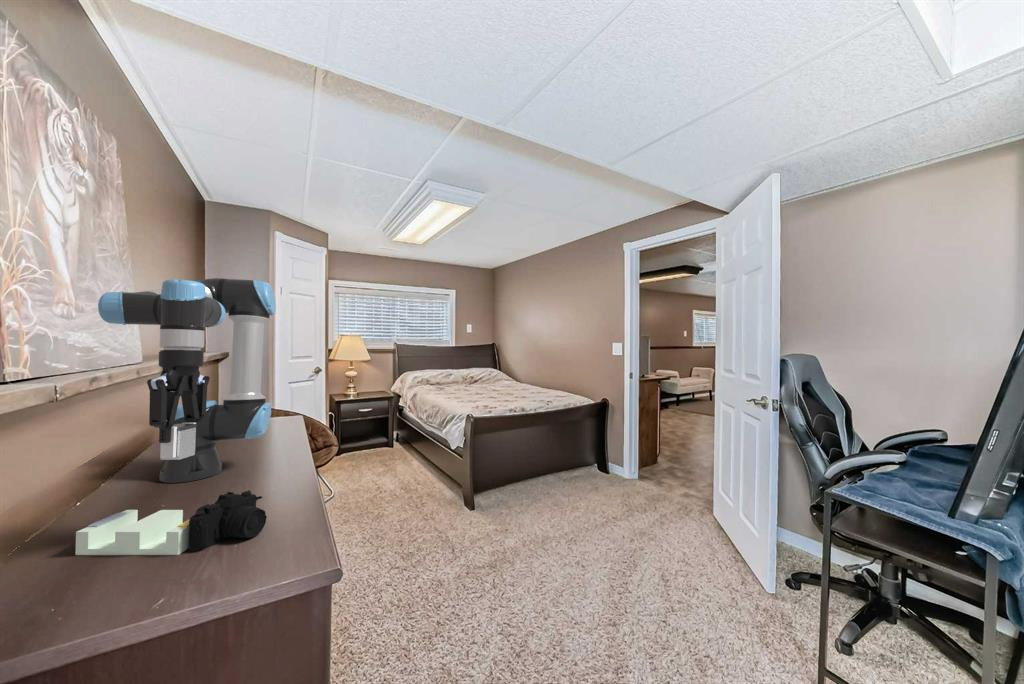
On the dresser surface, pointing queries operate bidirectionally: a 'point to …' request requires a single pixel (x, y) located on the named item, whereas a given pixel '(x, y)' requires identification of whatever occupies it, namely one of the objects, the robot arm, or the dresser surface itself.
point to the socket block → (135, 534)
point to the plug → (184, 441)
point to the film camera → (225, 520)
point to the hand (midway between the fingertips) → (178, 454)
